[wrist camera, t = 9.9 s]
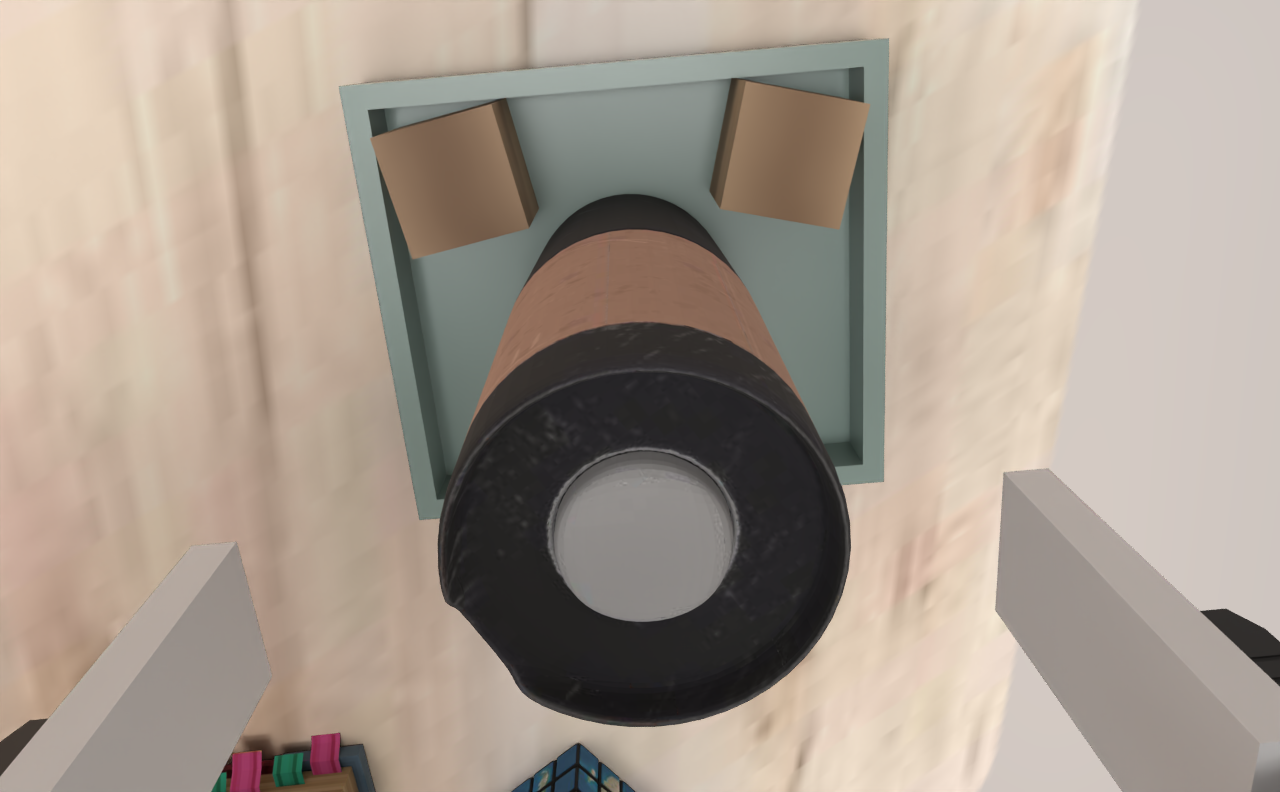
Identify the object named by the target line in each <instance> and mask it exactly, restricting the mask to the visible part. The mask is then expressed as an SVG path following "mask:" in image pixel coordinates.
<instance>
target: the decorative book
mask: <svg viewBox="0 0 1280 792" xmlns="http://www.w3.org/2000/svg"><path fill="white" fill-rule="evenodd" d="M311 740H312V745H311V750H310V751H301V752H293V753H284V754H283V755H278V756H275V758H274V759H273V760H264V761H262V750H259V751H250V752H241V753H233V755H232V764H228V765H225V766H224V768H223V770H222V772H221V774H220V776H219V778H218V780H217V782H216V783H215V785H214V787H213V789H212V791H211V792H375V789H374V785H373V781H372V778H371V774H370V770H369V766H368V763H367V759H366V755H365V751H364V748H363V744H360V745H352V746H343V747H340V733H334V734H325V735H316V736H311Z"/></svg>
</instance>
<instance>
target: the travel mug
mask: <svg viewBox="0 0 1280 792" xmlns="http://www.w3.org/2000/svg"><path fill="white" fill-rule="evenodd" d="M850 551H851V538H850V520H849V515H848V509H847V504H846V499H845V495H844V492H843V489H842V486H841V483H840V480H839V478H838V475H837V472H836V469H835V467H834V465H833V463H832V460H831V458H830V456H829V454H828V452H827V450H826V448H825V446H824V444H823V442H822V440H821V438H820V436H819V434H818V432H817V430H816V428H815V426H814V424H813V422H812V420H811V418H810V415H809V413H808V411H807V409H806V407H805V405H804V403H803V401H802V399H801V397H800V395H799V393H798V391H797V389H796V387H795V385H794V383H793V381H792V379H791V376H790V374H789V372H788V370H787V368H786V366H785V364H784V362H783V360H782V358H781V356H780V354H779V352H778V350H777V348H776V346H775V344H774V342H773V340H772V337H771V335H770V333H769V331H768V329H767V327H766V325H765V323H764V321H763V319H762V317H761V315H760V313H759V311H758V309H757V307H756V305H755V303H754V301H753V299H752V297H751V295H750V293H749V291H748V290H747V288H746V287H745V285H744V284H743V282H742V281H741V279H740V278H739V276H738V275H737V273H736V272H735V270H734V269H733V268H732V266H731V265H730V263H729V262H728V260H727V259H726V257H725V256H724V254H723V253H722V251H721V250H720V248H719V247H718V246H717V244H716V243H715V241H714V240H713V239H712V237H711V236H710V234H709V233H708V232H707V230H706V229H705V228H704V227H703V226H702V225H701V224H700V223H699V222H698V221H697V220H696V219H695V218H694V217H692V216H691V215H690V214H689V213H687V212H686V211H685V210H683V209H681V208H680V207H678V206H677V205H675V204H673V203H670V202H668V201H666V200H663V199H660V198H656V197H653V196H648V195H641V194H622V195H613V196H610V197H606V198H602V199H599V200H597V201H594V202H592V203H589V204H588V205H586V206H584V207H582V208H580V209H579V210H577V211H576V212H575V213H573V214H572V215H571V216H569V217H568V218H567V219H566V220H565V221H564V222H563V223H562V224H561V225H560V226H559V227H558V229H557V230H556V231H555V232H554V234H553V235H552V236H551V238H550V239H549V241H548V243H547V244H546V246H545V248H544V250H543V251H542V253H541V255H540V257H539V259H538V260H537V262H536V264H535V266H534V268H533V270H532V272H531V273H530V275H529V277H528V279H527V281H526V283H525V285H524V287H523V288H522V290H521V292H520V294H519V296H518V298H517V300H516V302H515V304H514V306H513V309H512V311H511V314H510V316H509V319H508V322H507V324H506V327H505V330H504V333H503V335H502V338H501V341H500V344H499V346H498V349H497V352H496V355H495V357H494V360H493V363H492V366H491V369H490V371H489V374H488V377H487V380H486V382H485V385H484V388H483V391H482V393H481V396H480V399H479V402H478V404H477V407H476V410H475V413H474V416H473V418H472V421H471V424H470V427H469V429H468V432H467V435H466V438H465V440H464V443H463V446H462V449H461V451H460V454H459V457H458V460H457V462H456V465H455V468H454V471H453V473H452V476H451V479H450V482H449V484H448V487H447V491H446V495H445V499H444V503H443V508H442V512H441V516H440V524H439V535H438V569H439V577H440V585H441V589H442V593H443V596H444V599H445V602H446V603H447V604H449V605H450V606H452V607H454V608H456V609H457V610H459V611H460V612H461V613H462V614H463V616H464V617H465V618H466V619H467V620H468V621H469V622H470V623H471V625H472V626H473V627H474V628H475V629H476V630H477V632H478V633H479V634H480V635H481V636H482V638H483V639H484V640H485V641H486V642H487V643H488V645H489V646H490V647H491V648H492V649H493V651H494V652H495V653H496V654H497V656H498V657H499V658H500V659H501V661H502V662H503V663H504V664H505V666H506V667H507V668H508V670H509V672H510V673H511V675H512V677H513V678H514V681H515V683H516V684H517V686H518V687H519V689H520V690H521V691H522V693H524V694H525V695H526V696H527V697H528V698H530V699H531V700H533V701H535V702H537V703H539V704H540V705H542V706H545V707H547V708H549V709H552V710H554V711H557V712H559V713H562V714H566V715H569V716H572V717H575V718H579V719H582V720H587V721H592V722H596V723H601V724H607V725H617V726H627V727H656V726H666V725H675V724H682V723H686V722H691V721H696V720H700V719H704V718H707V717H710V716H713V715H716V714H719V713H722V712H725V711H728V710H730V709H732V708H734V707H737V706H739V705H741V704H743V703H745V702H747V701H749V700H751V699H753V698H754V697H756V696H758V695H759V694H761V693H763V692H764V691H766V690H768V689H769V688H771V687H772V686H773V685H775V684H776V683H777V682H778V681H780V680H781V679H782V678H784V677H785V676H786V675H787V674H789V673H790V672H791V671H792V670H793V669H794V668H795V667H796V666H797V665H798V664H799V663H800V662H801V661H802V660H803V659H804V658H805V657H806V656H807V654H808V653H809V652H810V651H811V649H812V648H813V647H814V646H815V644H816V643H817V642H818V640H819V639H820V638H821V636H822V634H823V633H824V631H825V629H826V628H827V626H828V624H829V623H830V621H831V619H832V617H833V615H834V613H835V610H836V608H837V606H838V603H839V601H840V598H841V596H842V593H843V590H844V586H845V582H846V578H847V574H848V569H849V560H850Z"/></svg>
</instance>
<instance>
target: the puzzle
mask: <svg viewBox="0 0 1280 792" xmlns="http://www.w3.org/2000/svg"><path fill="white" fill-rule="evenodd" d="M512 792H635V791H633V790H632V789H631V788H630V787H629V786H628V785H627V784H626V783H624V782H622V781H619V777H618V776H616V775H615V774H614V773H613V772H612V771H611V770H610V769H608V768H607V767H606V766H605V765H604V764H602V763H600V762H599V763H598V759H597V758H596V757H595V756H594V755H592V754H591V753H590V752H589V751H588V750H587V749H586V748H584V747H583V746H582V745H580V744H577V745H575V746H573V747H572V748H570V749H569V750H568V751H566V752H565V753H564V754H562V755H561V756H559V757H558V758H557V761H554V762H551V763H550V764H549V765H547V766H546V767H544V768H543V769H542V770H540V771H539V772H538V773H536V774H535V775H534V778H531V779H528V780H527V781H525V782H524V783H523V784H521V785H520V786H519V787H517V788H516V789H515V790H513V791H512Z"/></svg>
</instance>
